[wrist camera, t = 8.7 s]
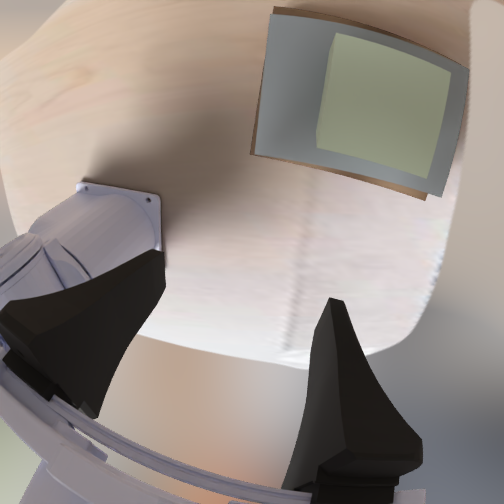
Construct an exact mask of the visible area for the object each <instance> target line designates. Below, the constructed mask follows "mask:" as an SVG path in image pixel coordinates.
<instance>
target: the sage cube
mask: <svg viewBox="0 0 504 504" xmlns="http://www.w3.org/2000/svg"><path fill="white" fill-rule="evenodd" d="M450 77H451V72H449V71H447V70H445V69H442V68H440V67H438V66H436V65H434V64H431V63H429V62H427V61H424V60H422V59H419V58H417V57H414V56H412V55H409V54H407V53H404V52H401V51H398V50H396V49H393V48H390V47H387V46H384V45H380V44H377V43H374V42H370V41H367V40H363V39H360V38H356V37H352V36H348V35H344V34H339V33H336V34H335V37H334V40H333V42H332V45H331V48H330V50H329V56H328V63H327V69H326V76H325V82H324V88H323V94H322V100H321V106H320V111H319V117H318V123H317V128H316V142H317V148H320V149H324V150H329V151H333V152H337V153H341V154H345V155H349V156H353V157H357V158H361V159H364V160H368V161H372V162H375V163H379V164H382V165H385V166H389V167H392V168H395V169H398V170H401V171H405V172H408V173H411V174H414V175H417V176H420V177H422V178H425V179H427V176H428V173H429V170H430V166H431V163H432V160H433V156H434V152H435V149H436V145H437V141H438V137H439V133H440V129H441V125H442V120H443V116H444V111H445V106H446V101H447V95H448V90H449V84H450Z"/></svg>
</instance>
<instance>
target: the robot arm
mask: <svg viewBox="0 0 504 504" xmlns="http://www.w3.org/2000/svg"><path fill="white" fill-rule="evenodd" d="M87 187H88V188H87ZM76 189H77V193H76V194H74V195H72V196H71V197H69V198H68V199H66V200H64V201H63V202H61V203H60V204H58V205H57V206H55V207H54V208H52V209H51V210H49V211H48V212H46V213H45V214H43V215H42V216H40V217H39V218H38V219H37V220H36V221H35V222H34V223H33V224H32V226H31V227H30V229H29V231H28V233H25V234H22V235H20V236H18V237H17V238H15V239H13V240H12V241H10V242H9V243H7V244H6V245H4V246H3V247H1V248H0V417H1V418H2V419H3V420H4V422H5V423H6V424H7V425H8V426H9V427H10V428H11V429H12V430H13V431H14V432H15V433H16V435H17V436H18V437H19V438H20V439H21V440H22V441H23V442H24V443H25V444H27V446H29V447H30V448H31V449H32V450H33V451H34V452H35V453H36V454H37V455H38V456H39V457H41V459H42V461H41V463H40V465H39V466H38V469H37V470H36V472H35V474H34V476H33V477H32V479H31V481H30V483H29V485H28V487H27V489H26V491H25V493H24V495H23V497H22V499H21V501H20V503H19V504H199V503H196V502H193V501H190V500H187V499H184V498H182V497H179V496H176V495H174V494H171V493H168V492H166V491H164V490H161V489H159V488H156V487H154V486H152V485H149V484H147V483H145V482H143V481H141V480H139V479H136V478H135V477H132V476H130V475H128V474H126V473H124V472H122V471H121V470H119V469H117V468H115V467H113V466H111V465H109V464H108V463H106V462H105V461H106V460H107V457H108V455H107V454H106V453H104V452H103V451H101V450H100V449H99V448H97V447H96V446H94V445H93V444H92V442H91V441H89V440H88V439H86V438H85V437H83V436H82V435H81V434H79V433H78V432H76V431H75V429H74V427H75V428H77V429H78V430H80V431H81V432H83V433H84V434H86V435H88V436H89V437H91V438H93V439H94V440H96V441H98V442H99V443H101V444H103V445H105V446H106V447H108V448H110V449H112V450H113V451H115V452H117V453H119V454H121V455H123V456H125V457H127V458H129V459H131V460H133V461H135V462H137V463H139V464H141V465H144V466H146V467H148V468H150V469H152V470H155V471H157V472H159V473H162V474H164V475H167V476H169V477H172V478H174V479H177V480H180V481H182V482H185V483H188V484H191V485H194V486H196V487H200V488H203V489H206V490H209V491H212V492H216V493H219V494H223V495H227V496H231V497H234V498H238V499H243V500H247V501H252V502H257V503H262V504H425V496H426V490H425V489H418V490H407V491H398V492H394V487H395V486H397V485H398V484H399V477H400V476H402V475H404V474H406V473H409V472H411V471H413V470H415V469H417V468H418V467H420V466H421V464H422V463H423V445H422V439H421V438H420V437H419V436H418V435H417V433H416V432H415V431H414V430H413V429H412V428H411V427H410V426H409V425H408V424H407V423H406V421H405V420H404V419H403V417H402V416H401V415H400V414H399V412H398V411H397V410H396V408H395V407H394V406H393V404H392V403H391V401H390V400H389V398H388V397H387V395H386V394H385V392H384V391H383V389H382V388H381V386H380V384H379V383H378V381H377V379H376V377H375V375H374V374H373V372H372V370H371V368H370V366H369V364H368V362H367V359H366V357H365V355H364V353H363V351H362V348H361V346H360V344H359V341H358V339H357V336H356V334H355V331H354V328H353V326H352V323H351V320H350V317H349V315H348V312H347V309H346V306H345V303H344V301H342V300H338V299H334V298H330V297H329V299H328V302H327V304H326V306H325V308H324V311H323V313H322V315H321V317H320V320H319V322H318V324H317V326H316V328H315V331H314V336H313V341H312V347H311V353H310V365H309V378H308V388H307V397H306V404H305V409H304V414H303V418H302V422H301V426H300V430H299V434H298V438H297V441H296V445H295V448H294V451H293V455H292V458H291V461H290V465H289V467H288V470H287V473H286V476H285V479H284V482H283V484H282V487H281V489H278V488H272V487H267V486H262V485H257V484H253V483H248V482H244V481H240V480H236V479H232V478H229V477H225V476H221V475H218V474H215V473H211V472H208V471H205V470H202V469H199V468H196V467H193V466H190V465H187V464H185V463H182V462H179V461H177V460H174V459H171V458H169V457H167V456H164V455H162V454H159V453H157V452H155V451H152V450H150V449H148V448H146V447H143V446H141V445H139V444H137V443H135V442H133V441H131V440H129V439H127V438H125V437H123V436H121V435H119V434H117V433H115V432H114V431H112V430H110V429H108V428H106V427H105V426H103V425H101V424H99V423H98V422H96V421H94V420H93V419H96V418H98V416H99V412H100V410H101V406H102V404H103V401H104V398H105V395H106V392H107V390H108V387H109V385H110V383H111V380H112V378H113V376H114V373H115V371H116V369H117V367H118V365H119V363H120V361H121V359H122V357H123V355H124V353H125V351H126V349H127V347H128V346H129V344H130V342H131V341H132V339H133V338H134V336H135V335H136V334H137V332H138V331H139V329H140V328H141V326H142V325H143V324H144V322H145V321H146V319H147V318H148V317H149V315H150V314H151V312H152V311H153V309H154V308H155V307H156V305H157V303H158V301H159V300H160V298H161V296H162V294H163V292H164V290H165V288H166V280H165V263H164V252H162V251H161V200H160V197H159V196H158V195H156V194H151V193H146V192H140V191H135V190H129V189H124V188H118V187H112V186H106V185H100V184H94V183H88V182H82V181H81V182H78V183H77V185H76ZM148 198H150V199H151V202H150V201H149V200H148ZM73 426H74V427H73ZM228 504H249V503H243V502H238V501H229V503H228Z"/></svg>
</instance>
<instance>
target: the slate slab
mask: <svg viewBox="0 0 504 504" xmlns="http://www.w3.org/2000/svg"><path fill="white" fill-rule="evenodd" d="M336 33H339V34H344V35H348V36H352V37H356V38H360V39H363V40H367V41H370V42H374V43H377V44H380V45H384V46H387V47H390V48H393V49H396V50H398V51H401V52H404V53H407V54H409V55H412V56H414V57H417V58H419V59H422V60H424V61H427V62H429V63H431V64H434V65H436V66H438V67H440V68H442V69H445V70H447V71H449V72H451V77H450V84H449V90H448V95H447V101H446V106H445V111H444V116H443V120H442V125H441V129H440V133H439V137H438V141H437V145H436V149H435V152H434V156H433V160H432V163H431V166H430V170H429V173H428V176H427V179H425V178H422V177H420V176H417V175H414V174H411V173H408V172H405V171H401V170H398V169H395V168H392V167H389V166H385V165H382V164H379V163H375V162H372V161H368V160H364V159H361V158H357V157H353V156H349V155H345V154H341V153H337V152H333V151H329V150H324V149H320V148H317V142H316V128H317V123H318V117H319V111H320V106H321V100H322V94H323V88H324V82H325V76H326V69H327V63H328V56H329V50H330V48H331V45H332V42H333V40H334V37H335V34H336ZM468 78H469V69H468V68H466V67H464V66H462V65H460V64H458V63H456V62H454V61H452V60H449V59H447V58H445V57H443V56H441V55H438V54H436V53H434V52H431V51H429V50H427V49H424V48H422V47H419V46H416V45H414V44H411V43H408V42H405V41H403V40H400V39H397V38H394V37H390V36H387V35H384V34H381V33H377V32H374V31H370V30H366V29H362V28H358V27H354V26H350V25H345V24H341V23H336V22H330V21H325V20H319V19H313V18H306V17H298V16H289V15H278V14H270V21H269V30H268V38H267V47H266V55H265V64H264V73H263V82H262V91H261V100H260V109H259V118H258V127H257V136H256V145H255V154H256V155H262V156H269V157H275V158H282V159H287V160H293V161H299V162H304V163H309V164H315V165H320V166H325V167H329V168H334V169H339V170H343V171H348V172H352V173H356V174H360V175H364V176H368V177H372V178H376V179H380V180H384V181H388V182H391V183H395V184H399V185H402V186H406V187H409V188H412V189H416V190H419V191H422V192H426V193H429V194H432V195H435V196H438V197H442V194H443V191H444V188H445V185H446V182H447V178H448V175H449V171H450V168H451V164H452V161H453V157H454V153H455V149H456V145H457V141H458V136H459V132H460V127H461V122H462V117H463V112H464V106H465V100H466V93H467V86H468Z"/></svg>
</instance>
